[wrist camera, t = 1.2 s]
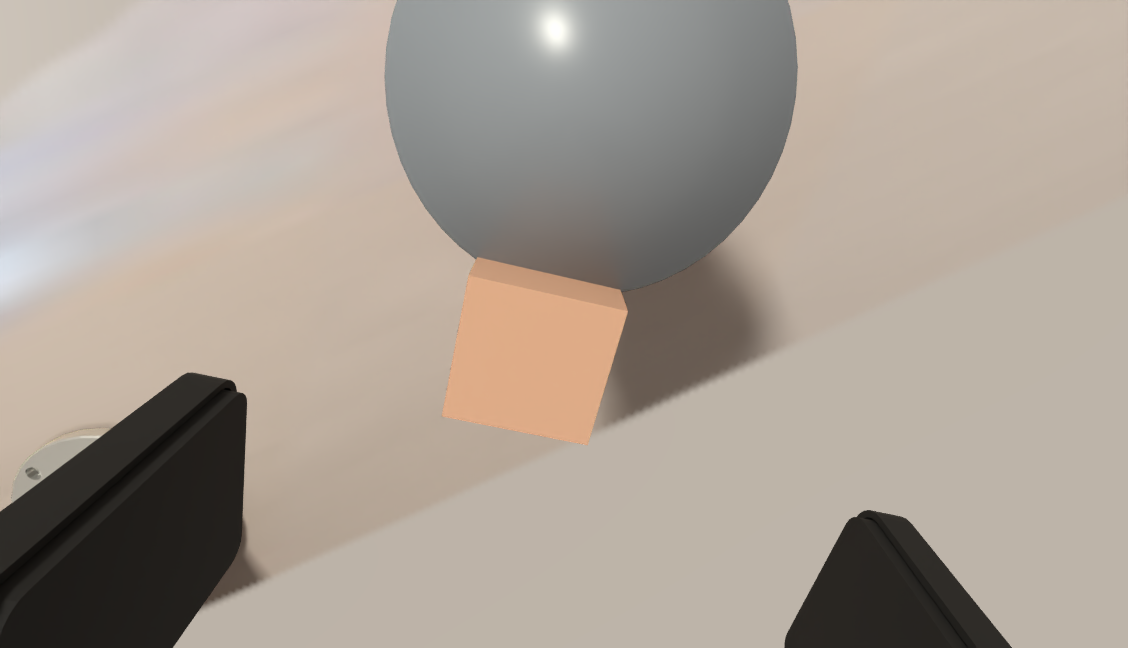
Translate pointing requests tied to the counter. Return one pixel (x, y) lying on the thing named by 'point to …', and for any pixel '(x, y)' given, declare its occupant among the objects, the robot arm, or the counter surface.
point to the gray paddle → (579, 171)
